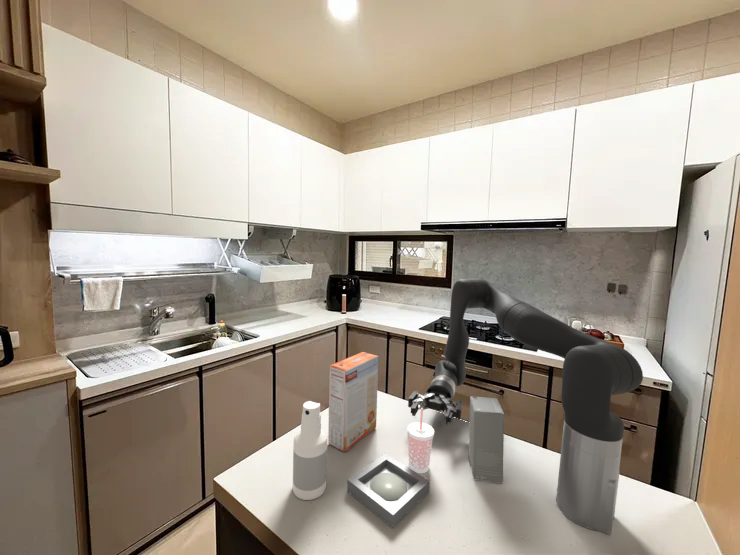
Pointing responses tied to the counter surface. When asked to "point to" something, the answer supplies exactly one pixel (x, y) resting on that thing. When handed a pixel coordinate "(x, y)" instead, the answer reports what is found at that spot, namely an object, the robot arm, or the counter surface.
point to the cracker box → (352, 399)
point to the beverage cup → (420, 445)
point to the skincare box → (486, 439)
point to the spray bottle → (310, 455)
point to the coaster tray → (388, 488)
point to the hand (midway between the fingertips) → (429, 416)
